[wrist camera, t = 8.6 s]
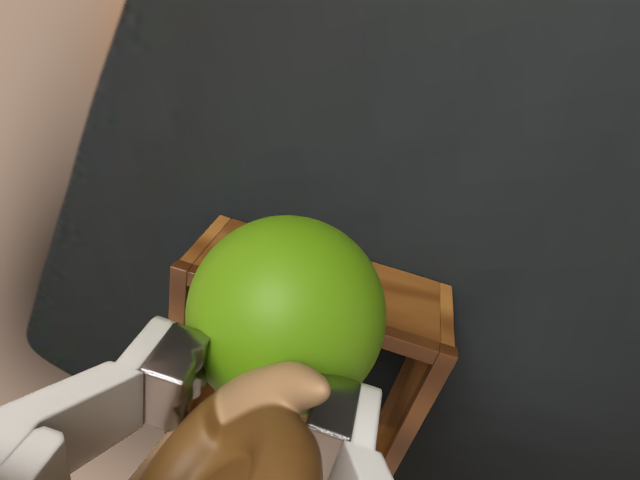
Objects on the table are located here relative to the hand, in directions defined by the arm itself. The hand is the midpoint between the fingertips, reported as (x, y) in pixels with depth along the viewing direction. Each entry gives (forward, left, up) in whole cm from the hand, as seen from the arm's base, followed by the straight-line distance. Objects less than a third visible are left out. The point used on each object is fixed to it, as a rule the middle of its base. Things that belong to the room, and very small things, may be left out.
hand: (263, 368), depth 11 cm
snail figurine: (0, 0, -5) cm, 5 cm away
